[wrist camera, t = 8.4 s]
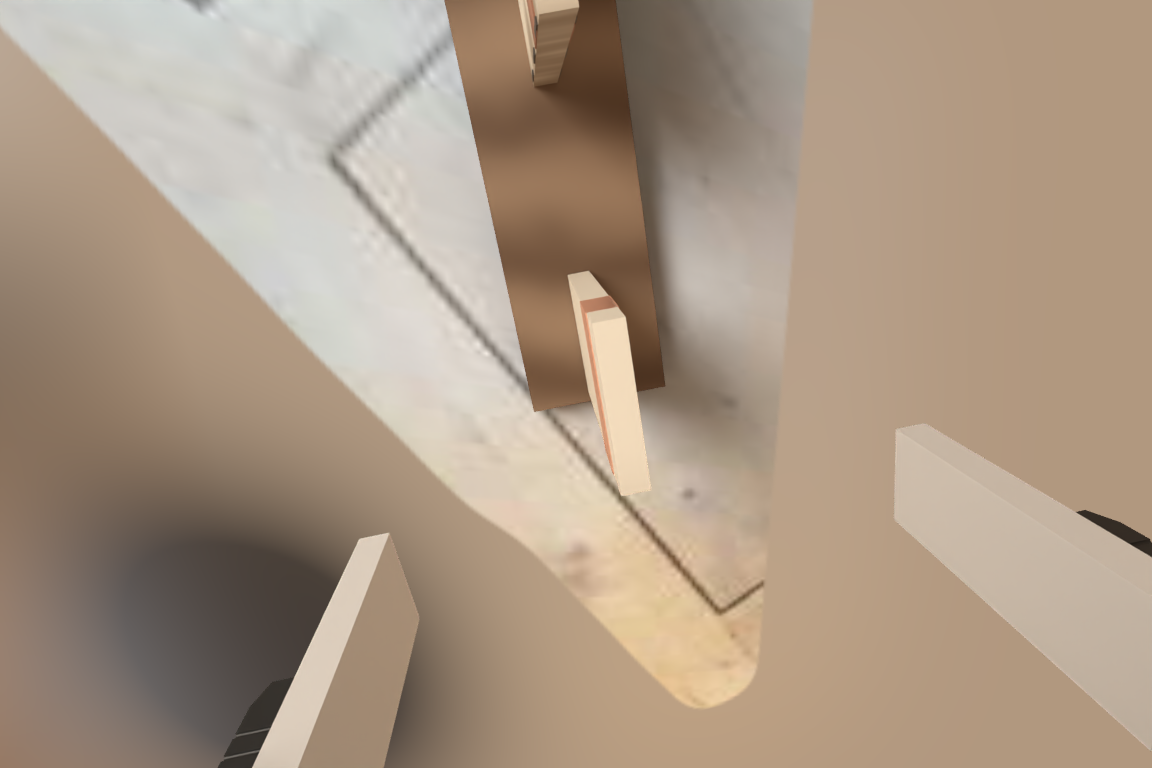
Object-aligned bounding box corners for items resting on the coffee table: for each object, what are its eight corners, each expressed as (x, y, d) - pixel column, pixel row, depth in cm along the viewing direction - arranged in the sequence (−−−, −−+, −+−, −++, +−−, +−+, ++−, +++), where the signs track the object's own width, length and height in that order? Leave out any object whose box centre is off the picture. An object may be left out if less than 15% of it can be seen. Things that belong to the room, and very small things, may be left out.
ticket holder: (388, -270, 24) (227, -813, 11) (567, -300, 25) (617, -869, 11) (533, 400, 35) (538, 525, 22) (657, 375, 35) (736, 485, 22)
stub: (566, 275, 31) (590, 323, 19) (589, 270, 31) (627, 316, 19) (587, 392, 33) (619, 496, 22) (609, 387, 33) (652, 490, 22)
